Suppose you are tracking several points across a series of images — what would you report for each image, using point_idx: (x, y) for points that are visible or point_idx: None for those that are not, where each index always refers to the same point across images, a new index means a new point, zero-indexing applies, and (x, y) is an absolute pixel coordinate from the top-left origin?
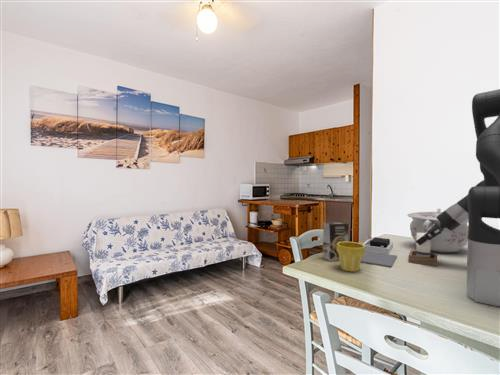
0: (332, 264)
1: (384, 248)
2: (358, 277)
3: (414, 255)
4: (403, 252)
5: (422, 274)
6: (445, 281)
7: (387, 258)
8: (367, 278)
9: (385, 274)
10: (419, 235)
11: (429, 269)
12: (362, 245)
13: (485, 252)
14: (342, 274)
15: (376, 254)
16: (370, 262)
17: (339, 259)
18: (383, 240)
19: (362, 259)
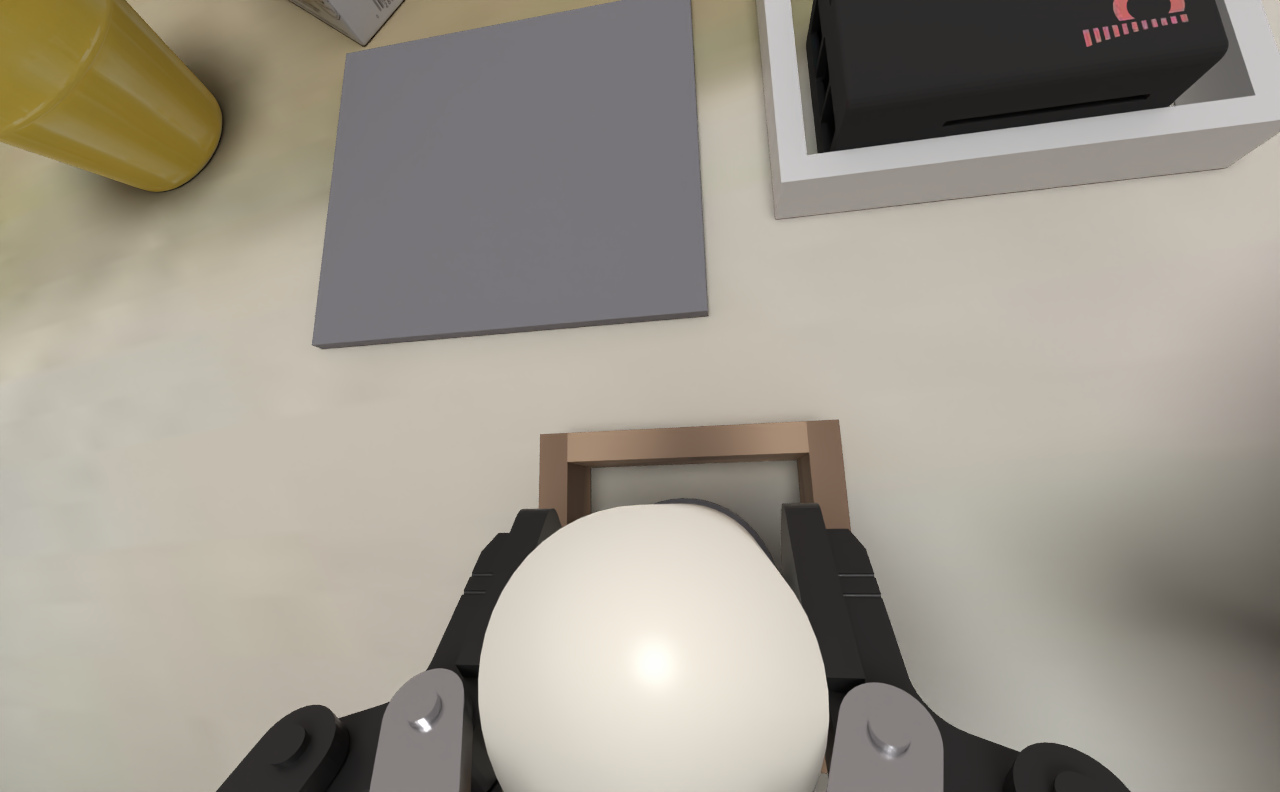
0: (216, 27)
1: (777, 146)
2: (47, 237)
3: (803, 474)
4: (993, 333)
5: (261, 587)
6: (167, 761)
7: (533, 264)
8: (47, 282)
9: (155, 351)
10: (523, 578)
11: (431, 640)
12: None
13: None
14: None
15: (620, 148)
16: (334, 193)
17: (306, 8)
18: (1010, 23)
19: (384, 121)
